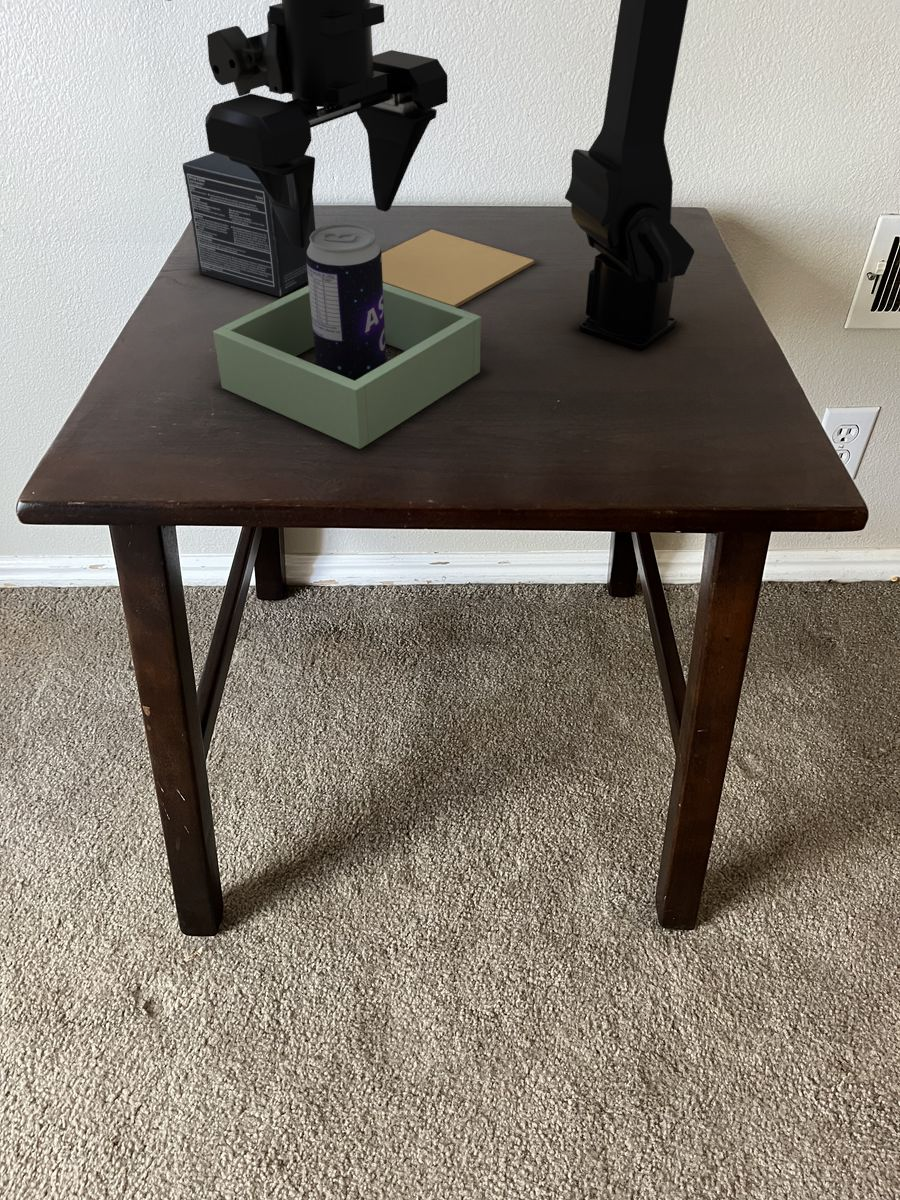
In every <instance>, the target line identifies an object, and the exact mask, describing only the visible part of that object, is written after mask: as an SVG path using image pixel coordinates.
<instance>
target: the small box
mask: <svg viewBox="0 0 900 1200" xmlns="http://www.w3.org/2000/svg"><path fill="white" fill-rule="evenodd" d="M182 172H183V176H184V181H185V185H186V191H187V197H188V203H189V210H190V217H191V223H192V229H193V237H194V243H195V248H196V256H197V257H196V258H197V263H198V272H199V274H201V275H203V276H205V277H209V278H213V279H217V280H220V281H224V282H227V283H231V284H235V285H238V286H240V287H244V288H248V289H252V290H254V291H255V290H256V291H259V292H261V293H265V294H269V295H272V296H276V297H279V298H280V297H284V296H285V295H286V294H288V293H290V292H291V291H293V290H295V289H297V288H299V287H301V286H303V285H305V284H307V283H308V273H307V262H306V252H307V249H308V247H309V244H310V235H311V233H312V232H313V231H315V230H316V221H315V219H316V218H315V207H314V206H315V205H314V194H313V191H312V202H311V213H310V225H309V233H308V238H307V243H306V247H305V248H304V249H298V248H295V247H293V246H292V245H291V243H290V241H289V239H288V237H287V235H286V233H285V231H284V229H283V226H282V224H281V222H280V220H279V218H278V216H277V214H276V212H275V210H274V208H273V205H272V203H271V201H270V199H269V197H268V195H267V193H266V192H265V190H264V188H263V187H262V185H261V183H260V182H259V180H258V178H257V177H256V176H255V174H254V173H253V172H252V171H251V170H250V169H249V168H248V167H247V166H246V165H243V164H239V163H236V162H233V161H230V160H229V159H228V157H227V156H225V155H221V154H218V153H215V152H212V153H209V154H206V155H203V156H200V157H197V158H194V159H192V160H189V161H186V162H183V163H182Z"/></svg>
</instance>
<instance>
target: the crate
mask: <svg viewBox="0 0 900 1200" xmlns="http://www.w3.org/2000/svg"><path fill="white" fill-rule="evenodd" d="M383 300H384V322H385V345H388V346H391V347H394V348H396V349H399V350H402V351H403V352H402V353H400V354H398V355H397V356H395V357H393V358H391V359H389V360H388V361H386V363H385V364H383V365H381V366H379V367H378V368H376V369H374V370H372V371H371V372H369V373H367V374H366V375H364V376H362V377H360V378H359V379H357V380H355V381H354V380H351V379H349V378H346V377H344V376H342V375H339V374H337V373H334V372H332V371H329V370H327V369H324V368H322V367H319V366H317V365H316V364H314V363H312V362H309V361H307V360H304V359H302V358H300V357H297V356H299V355H301V354H303V353H305V352H307V351H309V350H311V349H313V348H314V337H313V326H312V315H311V305H310V294H309V284H308V285H306V286H304V287H302V288H300V289H298V290H296V291H293V292H291V293H289V294H287V295H284V296H282V297H281V298H279V299H277V300H275V301H272V302H270V303H269V304H267V305H265V306H263V307H260V308H258V309H256V310H254V311H252V312H250V313H248V314H246V315H243V316H242V317H239V318H237V319H235V320H233V321H231V322H228V323H227V324H225V325H223V326H220V327H219V328H217V329H214V330H213V331H212V335H213V336H212V337H213V341H214V347H215V353H216V359H217V366H218V372H219V379H220V384H221V388H222V389H224V390H226V391H228V392H231V393H233V394H235V395H237V396H238V397H242V398H244V399H246V400H248V401H250V402H252V403H256V404H258V405H259V406H262V407H265V408H266V409H268V410H271V411H274V412H275V413H277V414H280V415H282V416H284V417H287V418H289V419H290V420H293V421H295V422H298V423H300V424H302V425H304V426H307V427H308V428H311V429H313V430H316V431H318V432H320V433H322V434H325V435H326V436H329V437H331V438H333V439H336V440H338V441H340V442H343V443H345V444H347V445H349V446H351V447H353V448H355V449H358V450H361V449H363V448H364V447H366V446H367V445H369V444H371V443H372V442H374V441H375V440H377V439H378V438H381V437H382V436H383V435H385V434H386V433H388V432H389V431H391V430H392V429H394V428H395V427H397V426H399V425H401V424H402V423H404V422H405V421H407V420H408V419H410V418H411V417H413V416H414V415H415V414H417V413H419V412H421V411H422V410H423V409H426V407H428V406H430V405H432V404H433V403H435V402H436V401H438V400H439V399H441V398H442V397H444V396H446V395H447V394H448V393H450V392H451V391H453V390H455V389H456V388H458V387H460V386H461V385H463V384H465V383H466V382H467V381H469V380H470V379H472V378H473V377H475V376H476V375H478V374H479V373H480V372H481V338H482V336H481V335H482V316H481V315H478V314H476V313H473V312H469V311H467V310H465V309H461V308H459V307H457V308H455V307H452V306H449V305H446V304H443V303H441V302H438V301H435V300H432V299H429V298H426V297H423V296H420V295H417V294H414V293H411V292H408V291H405V290H402V289H400V288H397V287H394V286H391V285H388V284H385V283H383Z"/></svg>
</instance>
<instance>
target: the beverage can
mask: <svg viewBox="0 0 900 1200" xmlns="http://www.w3.org/2000/svg"><path fill="white" fill-rule="evenodd" d="M376 238H377V237H376V233H375V231H374V230H373V229H371V228H369V227H368V226H365V225H361V224H356V223H333V224H328V225H324V226H322V227H319V228H315V231H313V232H312V233H311V235H310V244H309V247H308V249H307V252H306V262H307V273H308V282H307V283H308V285H309V294H310V305H311V315H312V326H313V337H314V347H313V348H314V358H315V365H317V366H319V367H322V368H324V369H327V370H329V371H332V372H334V373H337V374H339V375H342V376H344V377H346V378H349V379H351V380H354V381H355V380H357V379H359V378H360V377H362V376H364V375H366V374H367V373H369V372H371V371H372V370H374V369H376V368H378V367H379V366H381V365H383V364H385V363H386V362H387V352H386V350H387V349H386V348H387V347H386V345H387V344H385V322H384V300H383V277H382V255H381V254H382V249H381V247H380V245H379V244H378V242H377V240H376Z"/></svg>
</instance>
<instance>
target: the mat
mask: <svg viewBox="0 0 900 1200" xmlns="http://www.w3.org/2000/svg"><path fill="white" fill-rule="evenodd" d="M381 255H382V277H383V283H385V284H388V285H391V286H394V287H397V288H400V289H402V290H405V291H408V292H411V293H414V294H417V295H420V296H423V297H426V298H429V299H432V300H435V301H438V302H441V303H443V304H446V305H449V306H452V307H455V308H459V307H460V306H462V305H464V304H465V303H467V302H469V301H471V300H472V299H474V298H477V297H478V296H480V295H482V294H483V293H485V292H487V291H489V290H491V289H492V288H494V287H496V286H497V285H499V284H501V283H503V282H504V281H506V280H508V279H510V278H511V277H514V276H515V275H517V274H519V273H520V272H522V271H524V270H525V269H527V268H529V267H532V266H533V265H534V264H535V260H534V259H532V258H529V257H526V256H522V255H519V254H516V253H512V252H509V251H506V250H502V249H499V248H495V247H492V246H489V245H485V244H482V243H479V242H476V241H472V240H469V239H466V238H462V237H459V236H456V235H453V234H449V233H445V232H443V231H439V230H436V229H429V230H428V231H425V232H423V233H421V234H419V235H417V236H415V237H413V238H411V239H409V240H407V241H404V242H402V243H400V244H398V245H396V246H394V247H392V248H390V249H388V250H386V251H384V252H381Z"/></svg>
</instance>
